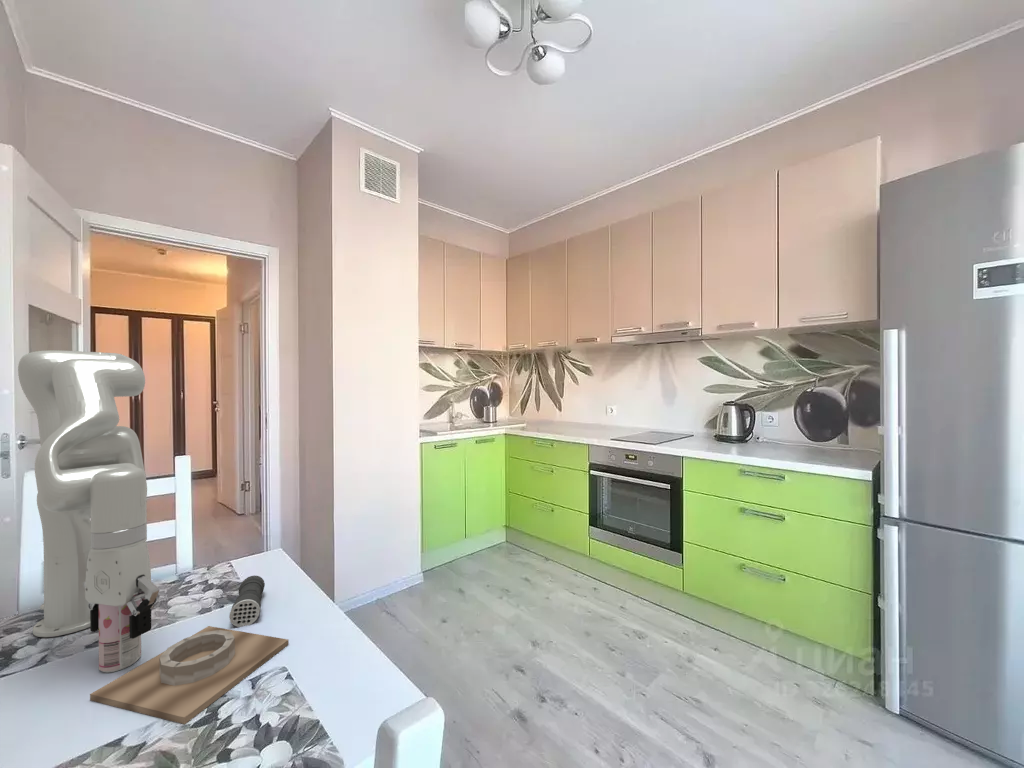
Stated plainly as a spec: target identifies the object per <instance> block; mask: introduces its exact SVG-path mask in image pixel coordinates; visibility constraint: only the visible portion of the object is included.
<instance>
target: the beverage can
mask: <svg viewBox="0 0 1024 768" xmlns="http://www.w3.org/2000/svg"><path fill="white" fill-rule="evenodd" d="M137 595H139V593H138V594H135V595H133V597H134V596H137ZM135 602H136V604H137V606H139V604H140V603H141V602H142V600H141V599H140V600H138V601H135ZM131 615H133V614H132V612H131V611H130V609H129V607H128V605H127V604H125V605H124V606H121V607H116V606H108V605H103V604H99V630H98V670H99V671H101V672H103V673H115V672H118V671H121V670H124V669H126V668H128V667H130V666H132V665H134V664H135V663H136V662H138V660H139V659H140V658H141V656H142V635H140V636H138V637H136V638H134V639H132V638H130V630H129V616H131Z"/></svg>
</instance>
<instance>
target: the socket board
mask: <svg viewBox="0 0 1024 768" xmlns="http://www.w3.org/2000/svg"><path fill="white" fill-rule="evenodd" d="M289 641H290V640H289V639H287V638H280V637H276V636H269V635H264V634H260V633H259V634H257V633H252V632H246V631H241V630H235V629H228V628H223V627H217V626H211V625H207V626H206V627H204V628H202V629H201V630H199V631H198V632H195V633H194V634H192V635H191V636H188V637H185V638H183V639H181V640H179V641H177V642H176V643H174V644H173V645H170V646H169V647H167V648H166V650H164V651H163V652H160V653H159V654H157V655H156V656H154V657H152V658H150V659H148V660H147V661H145V662H144V663H141V664H140V665H138V666H136V667H135V668H132V669H131V670H129V671H127V672H126V673H124V674H123V675H121V676H119V677H117V678H116V679H113V680H112V681H110V682H109V683H107V684H105V685H103V686H102V687H100V688H98V689H97V690H95V691H93V692H91V693H89V701H92V702H95V703H99V704H103V705H106V706H111V707H114V708H119V709H122V710H126V711H130V712H134V713H140V714H143V715H146V716H150V717H153V718H158V719H163V720H167V721H170V722H175V723H178V724H182V725H186V724H187V723H189V722H190V721H191V720H192V719H194V718H195V717H196V716H197V715H199V714H201V713H202V712H203V711H204V710H206V709H207V708H208V707H210V706H212V704H214V703H215V702H216V701H217V700H218V699H220V698H221V697H223V696H224V695H225V694H226V693H228V692H229V691H230V690H232V689H233V688H234V687H235V686H236V685H238V684H240V682H242V681H243V680H245V679H246V678H248V676H250V674H253V672H255V671H256V670H258V669H259V668H261V666H262V665H264V664H265V663H267V662H268V661H269V660H271V659H273V657H275V656H277V655H278V653H280V652H281V651H282V650H284V649H285V648H286V647H288V646H289V645H290V643H289Z"/></svg>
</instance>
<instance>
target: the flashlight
mask: <svg viewBox="0 0 1024 768" xmlns="http://www.w3.org/2000/svg"><path fill="white" fill-rule="evenodd" d="M265 585H266V584H265V580H264V579H263V577H261V576H259V575H250V576H247V577H246V578H245V579H244V580H242V581H241V583H240V584H239V587H238V596H237V597H236V599H235V601H234V602H233V604H232V607H231V609H230V612H229V621H230V623H231V624H232V625H233V626H235V627H236V628H242V627H246V626H247V627H248V626H251V625H252V624H254V623H255V621H256V620H257V619H258V617H259V616H260V612H261V607H262V597H261V596H262V594H263V593H264V590H265Z"/></svg>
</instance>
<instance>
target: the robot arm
mask: <svg viewBox="0 0 1024 768" xmlns="http://www.w3.org/2000/svg"><path fill="white" fill-rule="evenodd" d="M17 365H18V367H17V372H18V373H17V374H18V375H17V376H18V380H19V385H20V387H21V390H22V392H23V394H24V395H25V397H26V399H27V400H28V402H29V404H30V405H31V407H32V408H33V410H34V412H35V414H36V418H37V425H38V432H39V433H38V436H39V442H40V447H39V449H38V451H37V453H36V456H35V461H34V476H35V483H36V489H37V490H36V491H37V493H36V506H37V509H38V513H39V519H40V522H41V528H42V540H43V603H41V604H40V606H39V609H40V610H41V611H43V619H41V620H40V621H38V622H37V623H35V624H34V626H33V628H32V634H33V635H34V636H35V637H39V638H53V637H60V636H64V635H70V634H73V633H76V632H80V631H83V630H86V629H88V628H90V632H92V633H95V632H99V604H103V605H108V606H116V607H121V606H124V605H125V604H127V605H128V607H129V609H130V611H131V612H132V614H133V615H131V616H129V630H130V638H132V639H134V638H136V637H138V636H140V635H141V636H142V635H143V634H145V633H148V632H149V631H150V630H152V609H154V604H156V602H157V597H158V594H159V593H160V588H159V587H158V586H157V585H156V584H155V583H153V582H152V572H151V571H152V570H151V561H150V560H151V558H150V553H149V552H150V551H149V547H148V544H147V540H148V527H147V525H148V524H147V522H148V521H147V519H148V518H147V517H148V516H147V510H148V509H147V496H148V483H147V475H146V471H145V465H144V459H143V454H142V448H141V443H140V439H139V437H138V435H137V433H136V432H135V430H134V429H132V428H130V427H128V426H122V425H121V426H120V425H118V424H119V422H120V414H119V411H118V407H117V403H116V400H115V397H117V398H119V397H120V398H121V397H122V398H123V397H137V396H138V395H140V394H142V392H144V389H145V384H146V377H145V373H144V370H143V369H142V366H141V365H140V364H139V363H138V362H137V361H136V360H134V359H133V358H130V357H129V356H127V355H124V354H122V353H117V352H99V351H77V350H61V349H60V350H58V349H57V350H56V349H55V350H53V349H52V350H50V349H49V350H48V349H47V350H38V351H31V352H29V353H26V354H24V355H23V356H22V357H21V358H20V359H19V361H18V364H17ZM117 425H118V426H117ZM138 593H139V595H137V596H134V597H133V595H135V594H138ZM138 600H141V603H140V604H139V606H137V604H136V602H135V601H138Z"/></svg>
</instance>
